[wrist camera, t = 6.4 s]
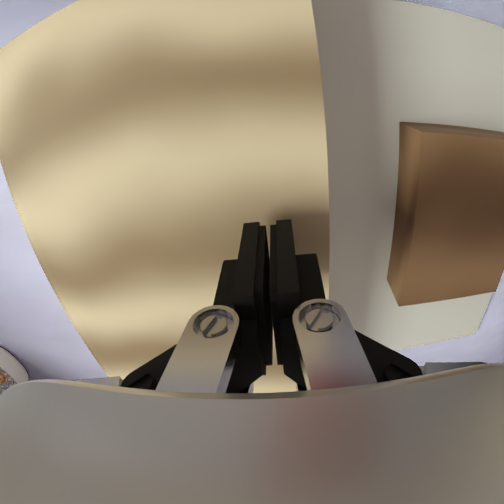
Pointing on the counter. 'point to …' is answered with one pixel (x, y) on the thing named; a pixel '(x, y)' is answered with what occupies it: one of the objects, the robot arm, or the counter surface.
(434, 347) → the counter surface
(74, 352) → the counter surface
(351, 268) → the cream mat
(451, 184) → the walnut tile
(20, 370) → the bath foam
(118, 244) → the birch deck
